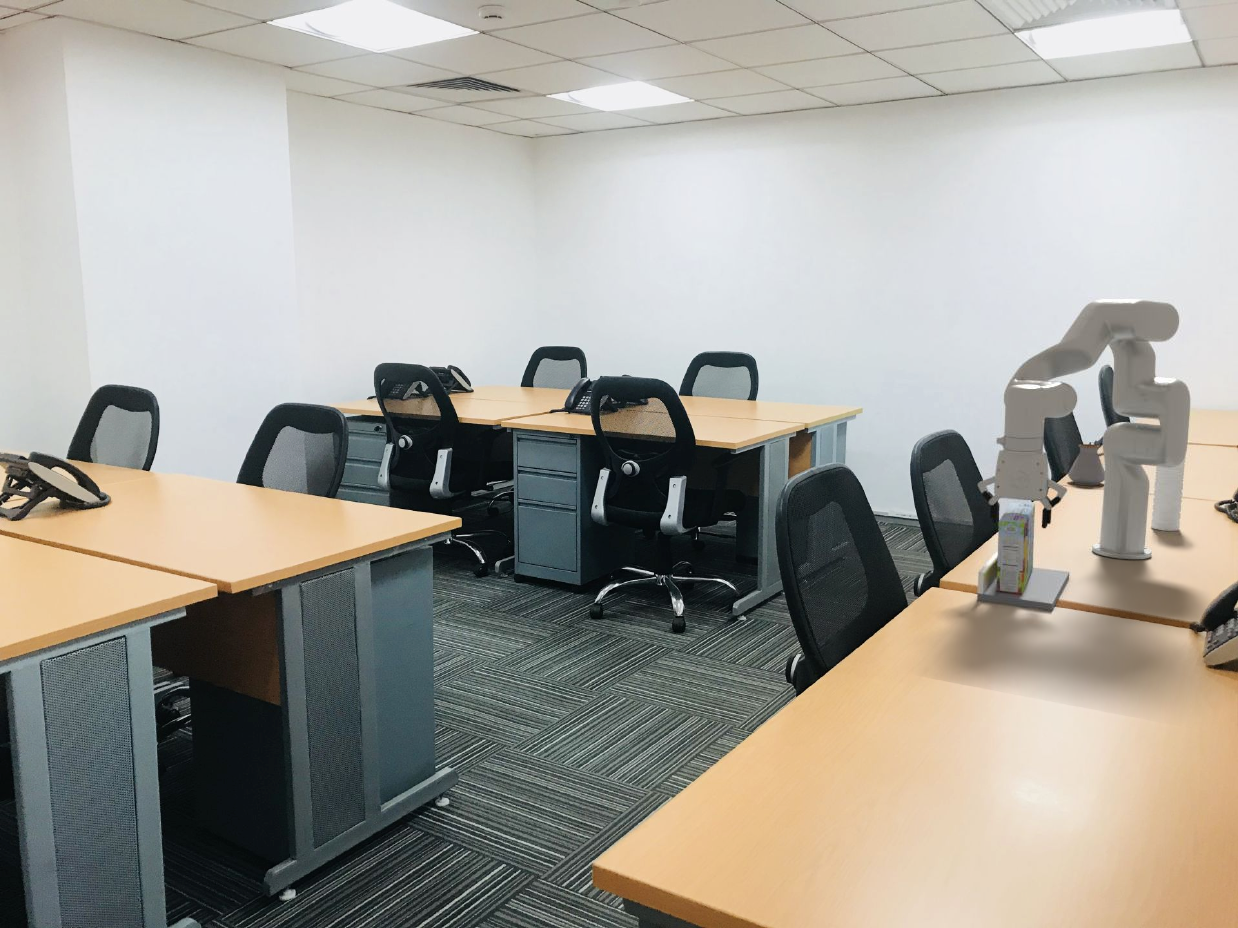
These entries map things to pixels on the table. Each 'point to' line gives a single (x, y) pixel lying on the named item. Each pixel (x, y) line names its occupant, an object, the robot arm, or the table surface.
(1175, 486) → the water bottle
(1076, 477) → the coffee pot
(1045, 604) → the shelf
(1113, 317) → the robot arm
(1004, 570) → the snack box
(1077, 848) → the table surface
